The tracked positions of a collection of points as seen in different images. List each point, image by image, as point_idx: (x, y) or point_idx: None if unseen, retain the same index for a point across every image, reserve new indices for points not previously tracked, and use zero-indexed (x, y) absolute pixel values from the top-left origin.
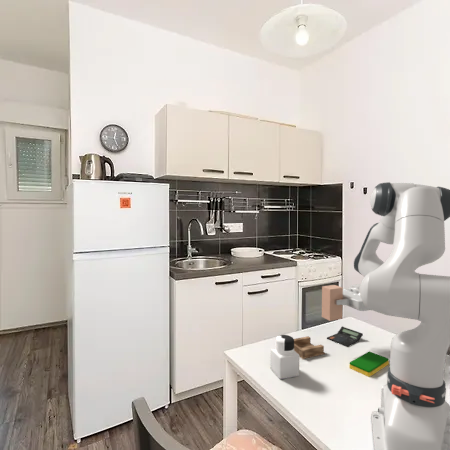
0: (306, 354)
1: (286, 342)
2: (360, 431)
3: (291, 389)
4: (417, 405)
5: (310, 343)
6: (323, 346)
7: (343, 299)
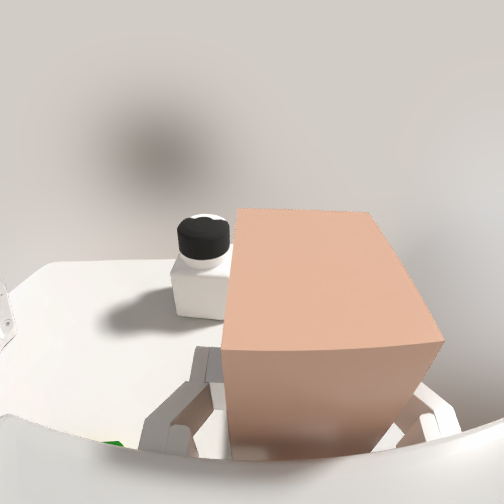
0: None
1: (182, 221)
2: (24, 298)
3: (150, 283)
4: None
5: None
6: None
7: (179, 406)
